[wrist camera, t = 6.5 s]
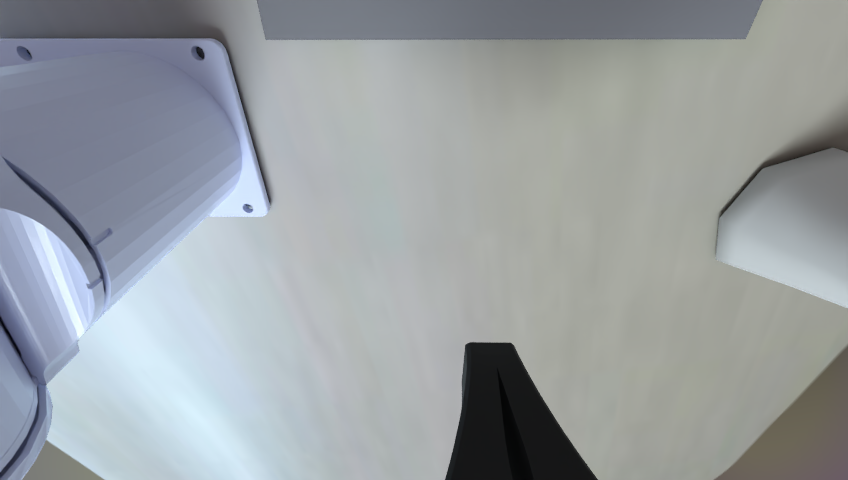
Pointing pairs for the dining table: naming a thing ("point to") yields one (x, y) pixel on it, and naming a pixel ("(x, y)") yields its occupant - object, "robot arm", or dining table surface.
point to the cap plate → (506, 19)
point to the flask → (793, 225)
